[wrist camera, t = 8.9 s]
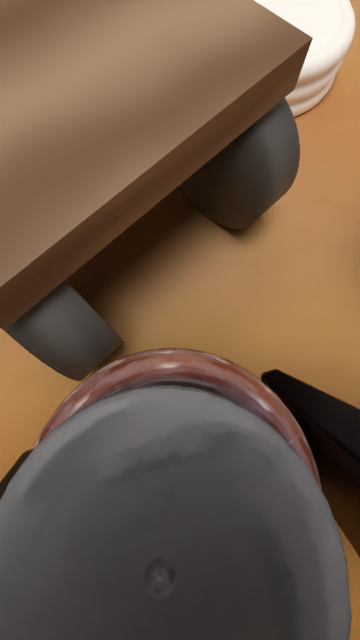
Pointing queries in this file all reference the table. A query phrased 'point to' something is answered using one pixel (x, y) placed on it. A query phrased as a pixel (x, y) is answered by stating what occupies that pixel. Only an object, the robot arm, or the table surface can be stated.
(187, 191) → the trolley
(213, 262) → the table surface
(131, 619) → the supplement bottle
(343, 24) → the coaster
